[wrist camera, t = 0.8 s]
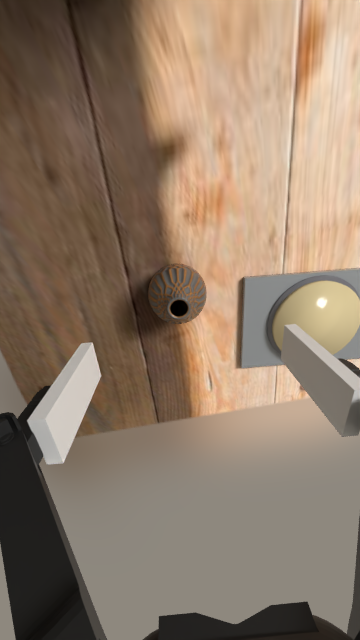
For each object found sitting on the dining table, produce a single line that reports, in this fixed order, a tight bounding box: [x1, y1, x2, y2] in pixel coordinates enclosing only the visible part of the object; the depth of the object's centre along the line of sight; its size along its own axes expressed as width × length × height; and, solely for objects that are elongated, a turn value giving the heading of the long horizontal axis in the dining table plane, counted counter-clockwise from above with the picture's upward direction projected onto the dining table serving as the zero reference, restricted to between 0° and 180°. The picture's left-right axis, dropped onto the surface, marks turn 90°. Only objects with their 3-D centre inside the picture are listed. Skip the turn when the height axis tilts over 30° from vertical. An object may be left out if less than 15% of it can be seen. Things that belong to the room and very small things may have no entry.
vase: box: [148, 264, 206, 324], centre depth 28 cm, size 7×7×9 cm
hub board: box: [240, 268, 360, 368], centre depth 33 cm, size 14×20×2 cm
